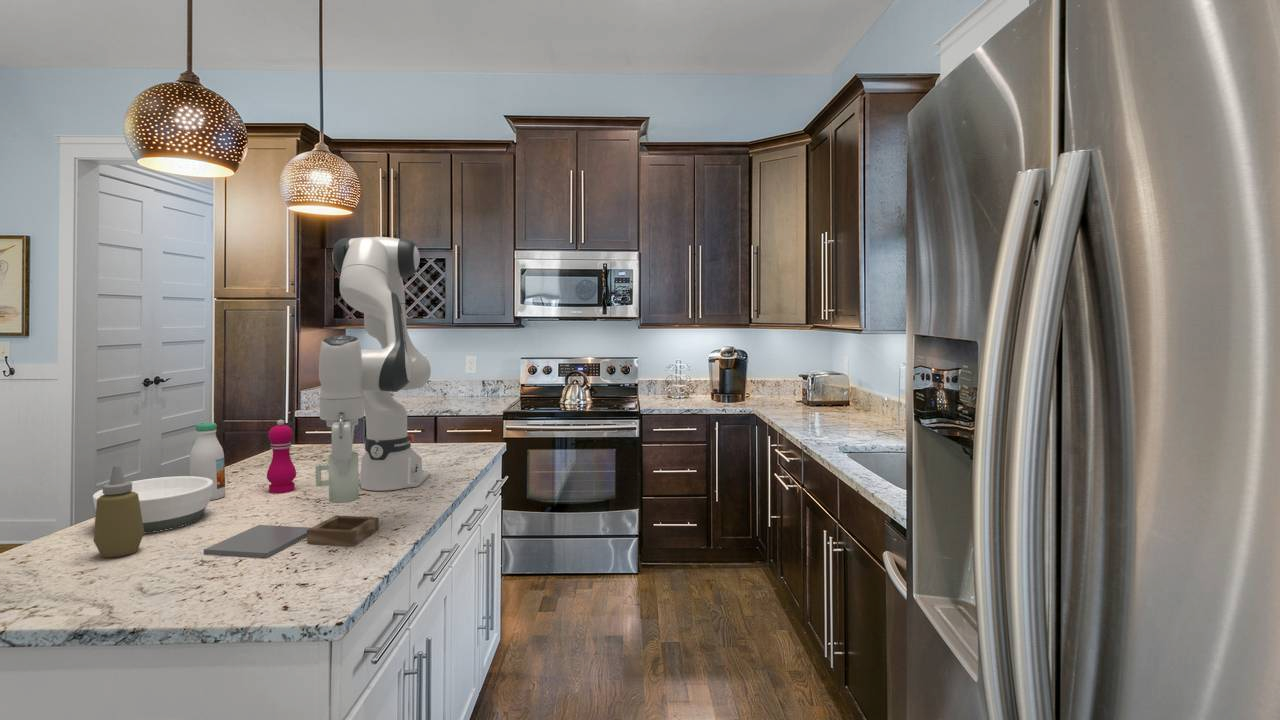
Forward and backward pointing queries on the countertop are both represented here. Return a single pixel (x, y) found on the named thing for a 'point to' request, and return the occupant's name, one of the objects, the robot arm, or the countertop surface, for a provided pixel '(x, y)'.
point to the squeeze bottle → (118, 518)
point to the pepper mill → (281, 460)
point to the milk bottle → (208, 458)
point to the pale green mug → (340, 480)
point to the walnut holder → (343, 530)
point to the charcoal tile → (259, 541)
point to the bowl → (170, 500)
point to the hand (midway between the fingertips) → (343, 471)
